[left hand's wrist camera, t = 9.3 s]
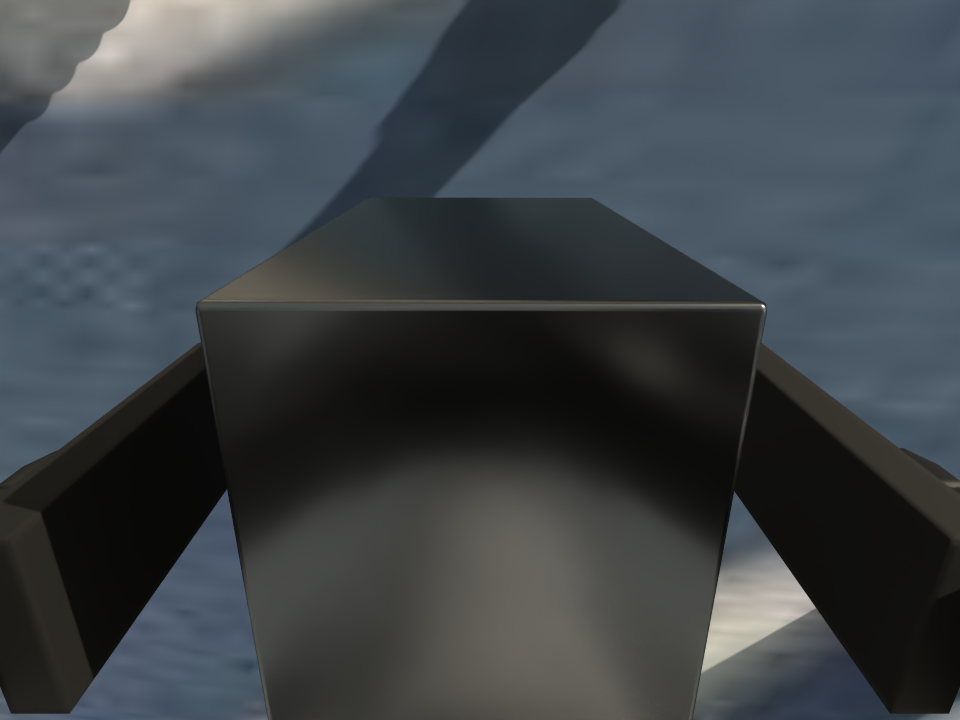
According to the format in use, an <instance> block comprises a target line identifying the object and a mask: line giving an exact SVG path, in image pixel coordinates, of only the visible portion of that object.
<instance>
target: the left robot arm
mask: <svg viewBox="0 0 960 720" xmlns="http://www.w3.org/2000/svg"><path fill="white" fill-rule="evenodd" d="M226 490H227V485H226V479H225V474H224V468H223V462H222V457H221V451H220V446H219V440H218V434H217V429H216V423H215V417H214V412H213V406H212V400H211V395H210V389H209V383H208V378H207V372H206V367H205V361H204V355H203V350H202V344H201V343H198V344H197V345H195V346H194V347H193V348H191V349H190V350H189V351H187V352H186V353H185V354H184V355H182V356H181V357H180V358H178V359H177V360H176V361H174V362H173V363H172V364H170V365H169V366H168V367H167V368H165V369H164V370H163V371H161V372H160V373H159V374H157V375H156V376H155V377H153V378H152V379H151V380H150V381H148V382H147V383H146V384H144V385H143V386H142V387H140V388H139V389H138V390H137V391H135V392H134V393H133V394H131V395H130V396H129V397H127V398H126V399H125V400H123V401H122V402H121V403H120V404H118V405H117V406H116V407H114V408H113V409H112V410H110V411H109V412H108V413H106V414H105V415H104V416H103V417H101V418H100V419H99V420H97V421H96V422H95V423H93V424H92V425H91V426H89V427H88V428H87V429H86V430H84V431H83V432H82V433H80V434H79V435H78V436H76V437H75V438H74V439H72V440H71V441H70V442H69V443H67V444H66V445H65V446H63V447H62V448H61V449H59V450H57V451H55V452H53V453H51V454H49V455H47V456H44V457H42V458H40V459H38V460H36V461H34V462H32V463H30V464H28V465H26V466H23V467H22V468H21V469H19V470H18V471H17V472H15V473H14V474H13V475H11V476H10V477H9V478H7V479H6V480H4V481H3V482H2V483H0V687H1V690H2V692H3V695H4V697H5V700H6V702H7V705H8V707H9V710H10V712H11V714H70V713H71V711H72V710H73V708H74V707H75V705H76V704H77V703H78V701H79V700H80V698H81V697H82V695H83V694H84V693H85V691H86V690H87V688H88V687H89V685H90V684H91V683H92V681H93V680H94V678H95V677H96V675H97V674H98V673H99V671H100V670H101V668H102V667H103V665H104V664H105V663H106V661H107V660H108V658H109V657H110V655H111V654H112V653H113V651H114V650H115V648H116V647H117V645H118V644H119V643H120V641H121V640H122V638H123V637H124V635H125V634H126V633H127V631H128V630H129V628H130V627H131V625H132V624H133V623H134V621H135V620H136V618H137V617H138V615H139V614H140V613H141V611H142V610H143V608H144V607H145V605H146V604H147V603H148V601H149V600H150V598H151V597H152V595H153V594H154V593H155V591H156V590H157V588H158V587H159V585H160V584H161V583H162V581H163V580H164V578H165V577H166V575H167V574H168V573H169V571H170V570H171V568H172V567H173V565H174V564H175V563H176V561H177V560H178V558H179V557H180V555H181V554H182V553H183V551H184V550H185V548H186V547H187V545H188V544H189V543H190V541H191V540H192V538H193V537H194V535H195V534H196V533H197V531H198V530H199V528H200V527H201V525H202V524H203V523H204V521H205V520H206V518H207V517H208V515H209V514H210V513H211V511H212V510H213V508H214V507H215V505H216V504H217V503H218V501H219V500H220V498H221V497H222V495H223V494H224V493H225V491H226ZM734 491H735V493H736V494H737V495H738V497H739V498H740V500H741V501H742V503H743V504H744V505H745V507H746V508H747V510H748V511H749V513H750V514H751V515H752V517H753V518H754V520H755V521H756V523H757V524H758V525H759V527H760V528H761V530H762V531H763V533H764V534H765V535H766V537H767V538H768V540H769V541H770V543H771V544H772V545H773V547H774V548H775V550H776V551H777V553H778V554H779V555H780V557H781V558H782V560H783V561H784V563H785V564H786V565H787V567H788V568H789V570H790V571H791V573H792V574H793V575H794V577H795V578H796V580H797V581H798V583H799V584H800V585H801V587H802V588H803V590H804V591H805V593H806V594H807V595H808V597H809V598H810V600H811V601H812V603H813V604H814V605H815V607H816V608H817V610H818V611H819V613H820V614H821V615H822V617H823V618H824V620H825V621H826V623H827V624H828V625H829V627H830V628H831V630H832V631H833V633H834V634H835V635H836V637H837V638H838V640H839V641H840V643H841V644H842V645H843V647H844V648H845V650H846V651H847V653H848V654H849V655H850V657H851V658H852V660H853V661H854V663H855V664H856V665H857V667H858V668H859V670H860V671H861V673H862V674H863V675H864V677H865V678H866V680H867V681H868V683H869V684H870V685H871V687H872V688H873V690H874V691H875V693H876V694H877V695H878V697H879V698H880V700H881V701H882V703H883V704H884V705H885V707H886V708H887V710H888V711H889V713H890V714H949V712H950V710H951V707H952V705H953V702H954V700H955V697H956V695H957V692H958V690H959V687H960V481H959V480H958V479H957V478H955V477H954V476H953V475H951V474H950V473H949V472H947V471H946V470H944V469H943V468H942V467H940V466H939V465H938V464H936V463H933V462H931V461H929V460H927V459H925V458H923V457H921V456H919V455H917V454H914V453H912V452H910V451H908V450H906V449H904V448H898V447H897V446H895V445H894V444H893V443H891V442H890V441H889V440H887V439H886V438H885V437H884V436H882V435H881V434H880V433H878V432H877V431H876V430H874V429H873V428H872V427H871V426H869V425H868V424H867V423H865V422H864V421H863V420H861V419H860V418H859V417H857V416H856V415H855V414H854V413H852V412H851V411H850V410H848V409H847V408H846V407H844V406H843V405H842V404H840V403H839V402H838V401H837V400H835V399H834V398H833V397H831V396H830V395H829V394H827V393H826V392H825V391H823V390H822V389H821V388H820V387H818V386H817V385H816V384H814V383H813V382H812V381H810V380H809V379H808V378H806V377H805V376H804V375H803V374H801V373H800V372H799V371H797V370H796V369H795V368H793V367H792V366H791V365H790V364H788V363H787V362H786V361H784V360H783V359H782V358H780V357H779V356H778V355H776V354H775V353H774V352H773V351H771V350H770V349H769V348H767V347H766V346H765V345H763V344H762V343H761V347H760V352H759V358H758V363H757V369H756V374H755V380H754V385H753V391H752V396H751V402H750V407H749V412H748V418H747V423H746V429H745V434H744V440H743V445H742V451H741V456H740V462H739V467H738V473H737V478H736V484H735V489H734Z"/></svg>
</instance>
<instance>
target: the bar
mask: <svg viewBox="0 0 960 720" xmlns="http://www.w3.org/2000/svg"><path fill="white" fill-rule="evenodd" d="M766 314H767V308H766V304H765V303H764V302H762V301H761V300H759V299H757V298H756V297H754V296H753V295H751V294H749V293H748V292H746V291H744V290H743V289H741V288H739V287H738V286H736V285H734V284H733V283H731V282H730V281H728V280H726V279H725V278H723V277H721V276H720V275H718V274H716V273H715V272H713V271H711V270H710V269H708V268H706V267H705V266H703V265H702V264H700V263H698V262H697V261H695V260H693V259H692V258H690V257H688V256H687V255H685V254H683V253H682V252H680V251H678V250H677V249H675V248H674V247H672V246H670V245H669V244H667V243H665V242H664V241H662V240H660V239H659V238H657V237H655V236H654V235H652V234H651V233H649V232H647V231H646V230H644V229H642V228H641V227H639V226H637V225H636V224H634V223H632V222H631V221H629V220H627V219H626V218H624V217H623V216H621V215H619V214H618V213H616V212H614V211H613V210H611V209H609V208H608V207H606V206H604V205H603V204H601V203H599V202H598V201H596V200H595V199H593V198H368V199H366V200H364V201H363V202H361V203H359V204H358V205H356V206H354V207H353V208H351V209H349V210H348V211H346V212H344V213H343V214H341V215H340V216H338V217H336V218H335V219H333V220H331V221H330V222H328V223H326V224H325V225H323V226H322V227H320V228H318V229H317V230H315V231H313V232H312V233H310V234H308V235H307V236H305V237H303V238H302V239H300V240H299V241H297V242H295V243H294V244H292V245H290V246H289V247H287V248H285V249H284V250H282V251H280V252H279V253H277V254H276V255H274V256H272V257H271V258H269V259H267V260H266V261H264V262H262V263H261V264H259V265H257V266H256V267H254V268H253V269H251V270H249V271H248V272H246V273H244V274H243V275H241V276H239V277H238V278H236V279H234V280H233V281H231V282H230V283H228V284H226V285H225V286H223V287H221V288H220V289H218V290H216V291H215V292H213V293H211V294H210V295H208V296H207V297H205V298H203V299H202V300H200V301H198V302H197V304H196V316H197V321H198V327H199V333H200V338H201V344H202V350H203V355H204V361H205V367H206V372H207V378H208V383H209V389H210V395H211V400H212V406H213V412H214V417H215V423H216V429H217V434H218V440H219V446H220V451H221V457H222V462H223V468H224V474H225V479H226V485H227V491H228V496H229V502H230V508H231V513H232V519H233V525H234V530H235V536H236V541H237V547H238V553H239V558H240V564H241V570H242V575H243V581H244V587H245V592H246V598H247V604H248V609H249V615H250V620H251V626H252V632H253V637H254V643H255V649H256V654H257V660H258V666H259V671H260V677H261V683H262V688H263V694H264V699H265V705H266V711H267V716H268V720H692V719H693V713H694V708H695V702H696V697H697V691H698V686H699V680H700V675H701V669H702V664H703V659H704V653H705V648H706V642H707V637H708V631H709V626H710V620H711V615H712V609H713V604H714V598H715V593H716V587H717V582H718V577H719V571H720V566H721V560H722V555H723V549H724V544H725V538H726V533H727V527H728V522H729V516H730V511H731V505H732V500H733V494H734V489H735V484H736V478H737V473H738V467H739V462H740V456H741V451H742V445H743V440H744V434H745V429H746V423H747V418H748V412H749V407H750V402H751V396H752V391H753V385H754V380H755V374H756V369H757V363H758V358H759V352H760V347H761V341H762V336H763V330H764V325H765V320H766Z"/></svg>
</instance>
